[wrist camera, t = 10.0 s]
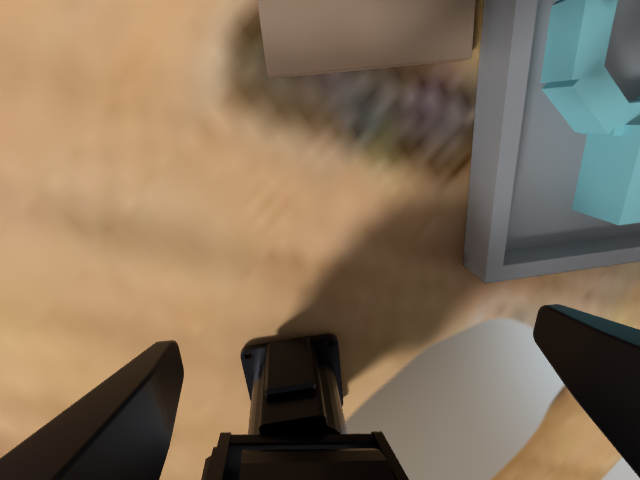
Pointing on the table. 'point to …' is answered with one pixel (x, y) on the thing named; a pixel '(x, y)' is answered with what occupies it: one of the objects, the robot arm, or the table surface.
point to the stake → (363, 34)
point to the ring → (594, 109)
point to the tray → (537, 153)
